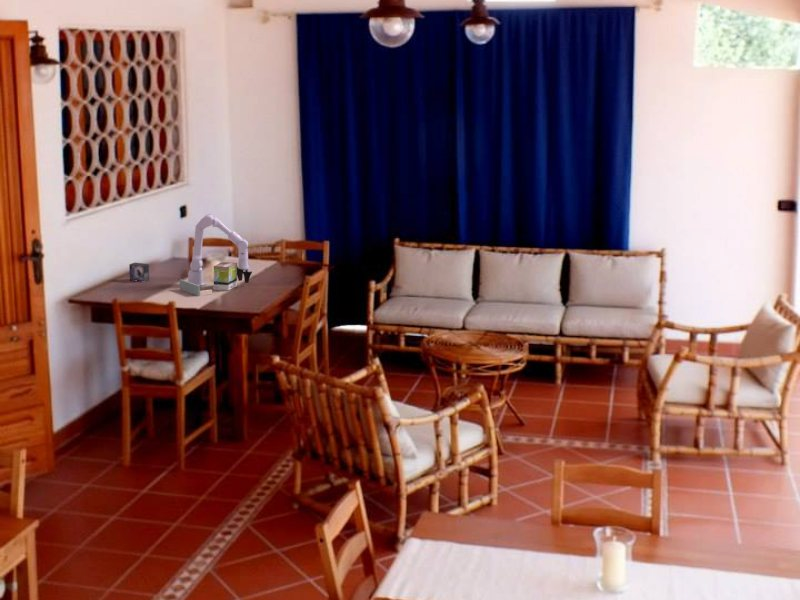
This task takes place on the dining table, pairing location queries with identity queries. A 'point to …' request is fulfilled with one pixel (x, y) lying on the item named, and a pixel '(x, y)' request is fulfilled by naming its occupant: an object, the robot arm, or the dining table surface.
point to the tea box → (225, 276)
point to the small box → (139, 271)
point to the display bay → (193, 288)
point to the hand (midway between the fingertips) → (243, 281)
